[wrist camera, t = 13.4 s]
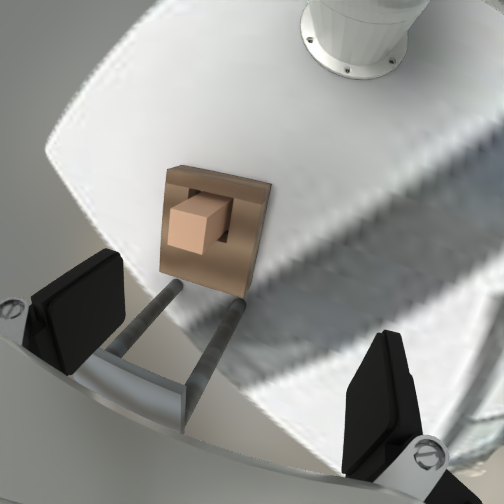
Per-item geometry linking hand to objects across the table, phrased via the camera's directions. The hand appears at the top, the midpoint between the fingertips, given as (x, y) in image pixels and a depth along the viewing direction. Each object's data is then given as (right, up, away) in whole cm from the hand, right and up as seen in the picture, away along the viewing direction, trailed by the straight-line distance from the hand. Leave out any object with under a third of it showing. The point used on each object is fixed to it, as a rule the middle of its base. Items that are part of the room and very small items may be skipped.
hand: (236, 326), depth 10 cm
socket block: (-5, +4, +31) cm, 32 cm away
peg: (-4, +8, +29) cm, 31 cm away
